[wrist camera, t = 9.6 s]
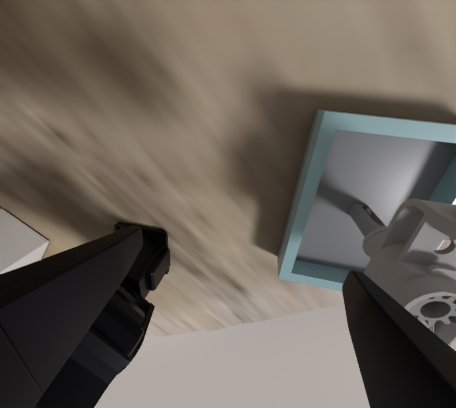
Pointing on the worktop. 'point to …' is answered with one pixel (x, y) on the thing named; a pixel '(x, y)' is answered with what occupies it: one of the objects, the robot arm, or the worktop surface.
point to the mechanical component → (414, 260)
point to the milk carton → (18, 243)
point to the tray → (359, 188)
